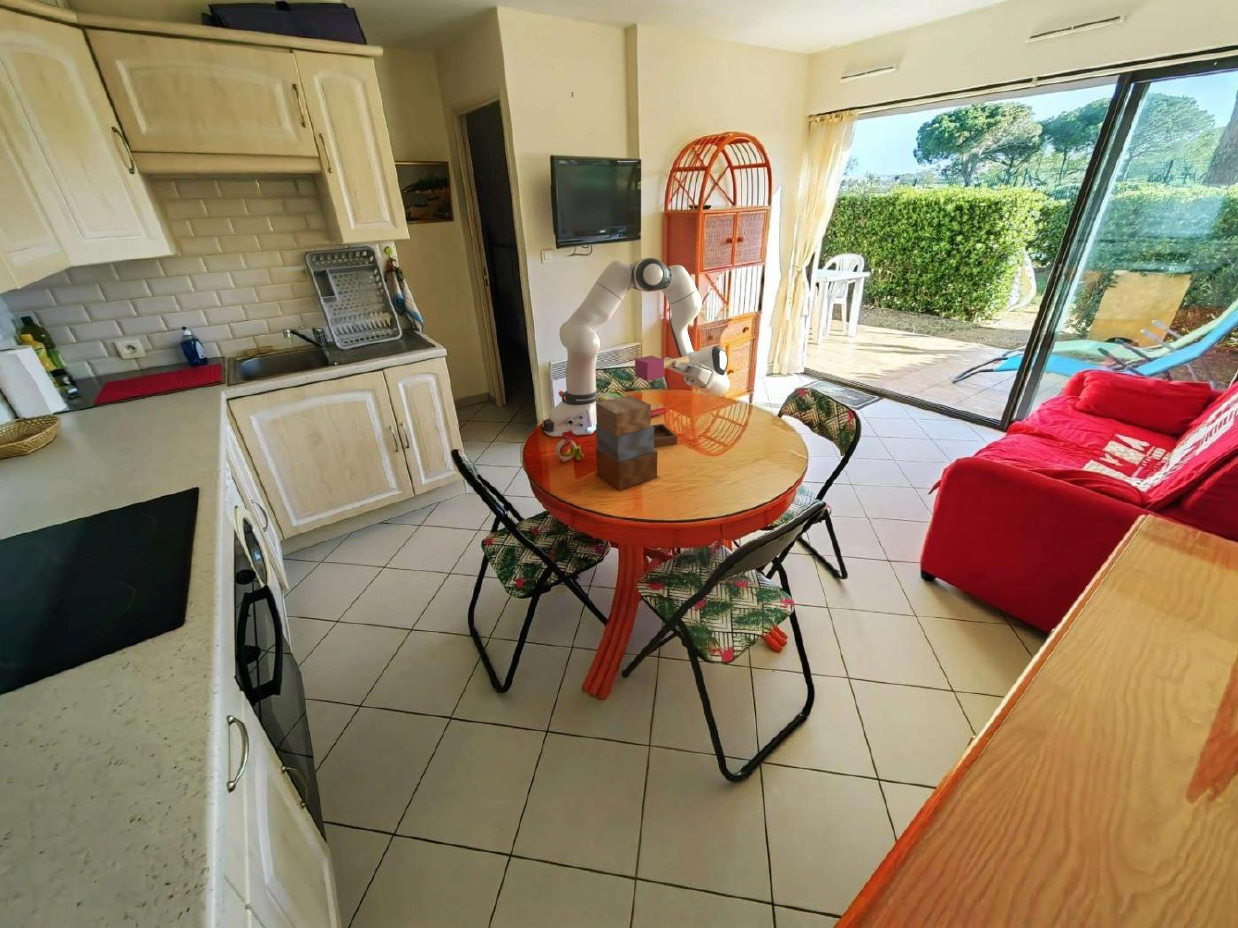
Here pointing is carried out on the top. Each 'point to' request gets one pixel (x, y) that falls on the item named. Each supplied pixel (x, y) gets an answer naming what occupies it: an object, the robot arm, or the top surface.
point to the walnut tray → (663, 436)
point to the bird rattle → (564, 449)
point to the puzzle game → (609, 396)
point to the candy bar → (658, 410)
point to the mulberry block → (654, 366)
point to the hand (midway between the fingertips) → (670, 362)
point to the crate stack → (625, 442)
